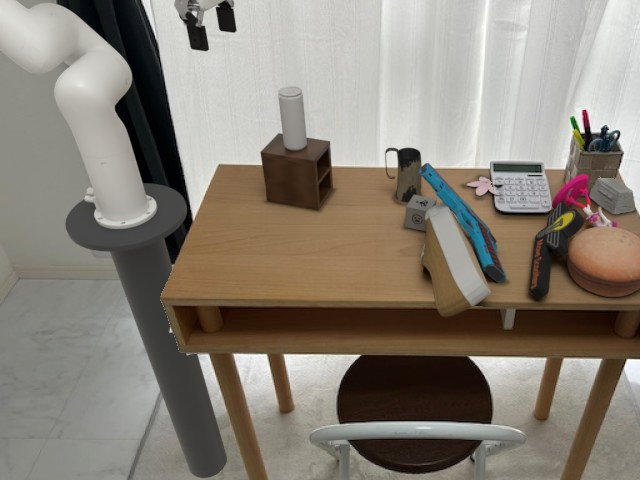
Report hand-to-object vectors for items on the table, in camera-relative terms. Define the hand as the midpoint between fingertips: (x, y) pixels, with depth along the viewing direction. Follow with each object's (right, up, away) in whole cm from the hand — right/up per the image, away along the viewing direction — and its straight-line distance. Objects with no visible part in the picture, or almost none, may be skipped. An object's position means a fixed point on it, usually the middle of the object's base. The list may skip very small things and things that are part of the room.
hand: (214, 40), depth 107 cm
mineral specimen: (+80, -23, +25) cm, 87 cm away
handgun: (+44, -36, +2) cm, 57 cm away
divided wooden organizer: (+10, -22, +30) cm, 39 cm away
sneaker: (+45, -35, +6) cm, 57 cm away
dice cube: (+37, -29, +23) cm, 52 cm away
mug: (+33, -23, +30) cm, 50 cm away
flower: (+52, -18, +33) cm, 64 cm away
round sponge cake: (+72, -33, +5) cm, 79 cm away
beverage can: (+10, -13, +23) cm, 28 cm away
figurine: (+68, -22, +25) cm, 76 cm away
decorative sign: (+59, -36, +14) cm, 71 cm away
